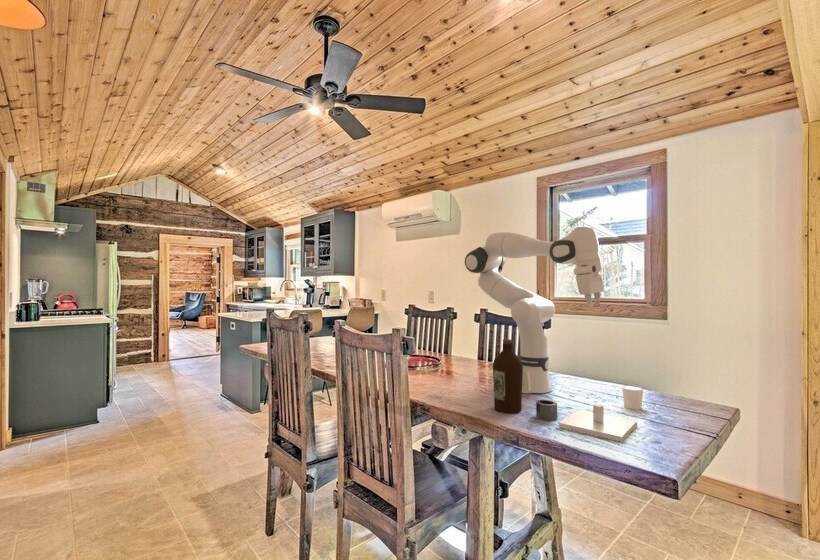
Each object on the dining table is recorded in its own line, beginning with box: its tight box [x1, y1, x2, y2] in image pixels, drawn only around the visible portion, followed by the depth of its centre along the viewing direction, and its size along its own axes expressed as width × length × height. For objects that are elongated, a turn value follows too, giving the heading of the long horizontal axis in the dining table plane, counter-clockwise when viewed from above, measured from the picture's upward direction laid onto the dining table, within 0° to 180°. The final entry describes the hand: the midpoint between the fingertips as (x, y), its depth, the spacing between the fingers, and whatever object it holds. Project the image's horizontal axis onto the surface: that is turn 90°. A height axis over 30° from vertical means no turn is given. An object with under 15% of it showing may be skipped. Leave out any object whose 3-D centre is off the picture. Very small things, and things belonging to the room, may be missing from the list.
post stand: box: [558, 404, 638, 443], centre depth 129 cm, size 18×18×6 cm
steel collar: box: [535, 399, 558, 421], centre depth 138 cm, size 7×7×5 cm
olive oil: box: [492, 338, 523, 414], centre depth 147 cm, size 11×11×25 cm
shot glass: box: [621, 385, 644, 410], centre depth 150 cm, size 7×7×7 cm
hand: (594, 305), depth 154 cm, fingers open, 8 cm apart
